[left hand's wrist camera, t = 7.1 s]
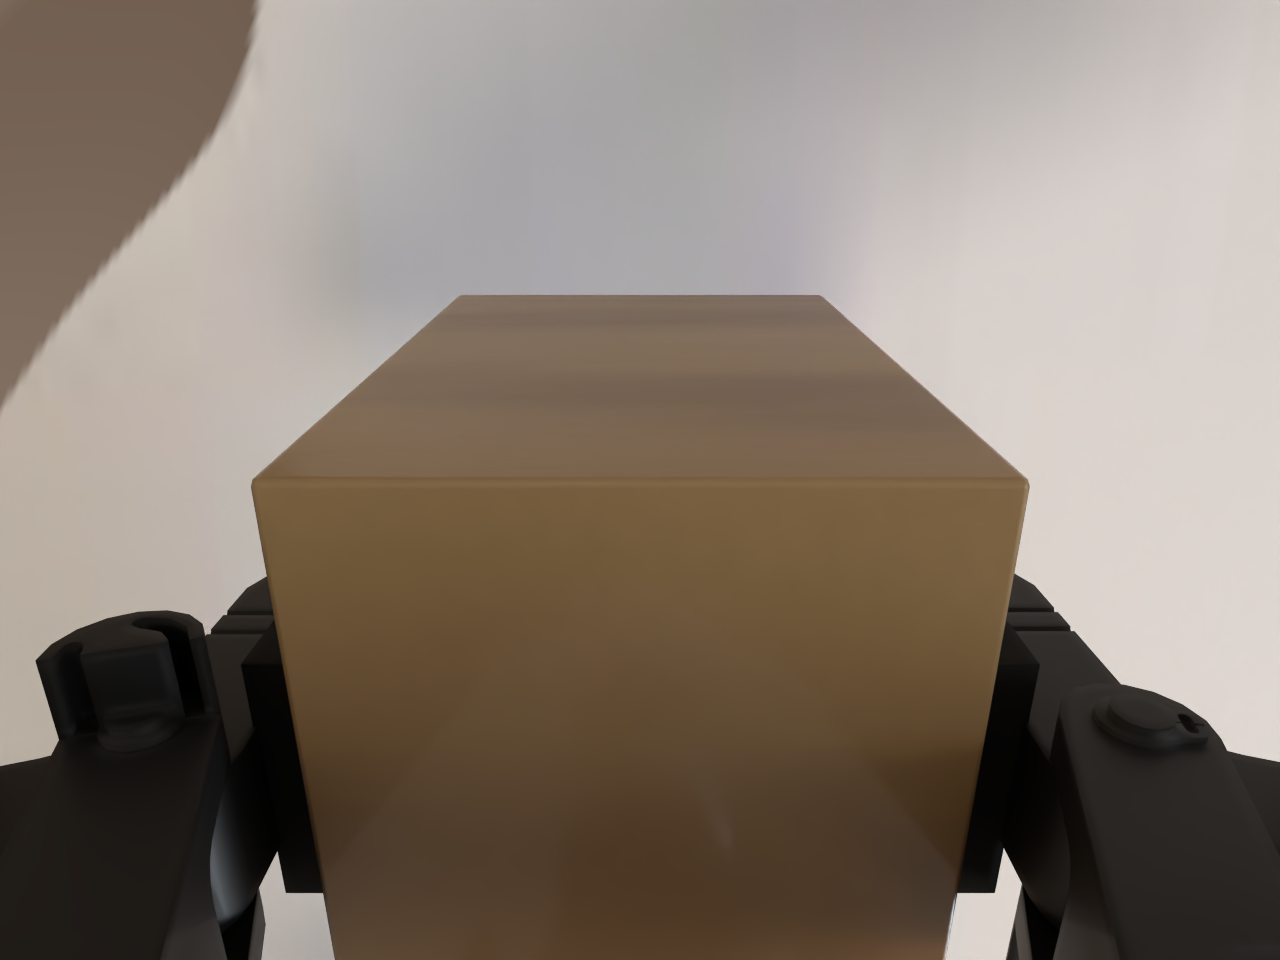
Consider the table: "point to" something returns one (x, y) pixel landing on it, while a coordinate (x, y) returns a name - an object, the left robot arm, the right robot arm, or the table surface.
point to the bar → (640, 635)
